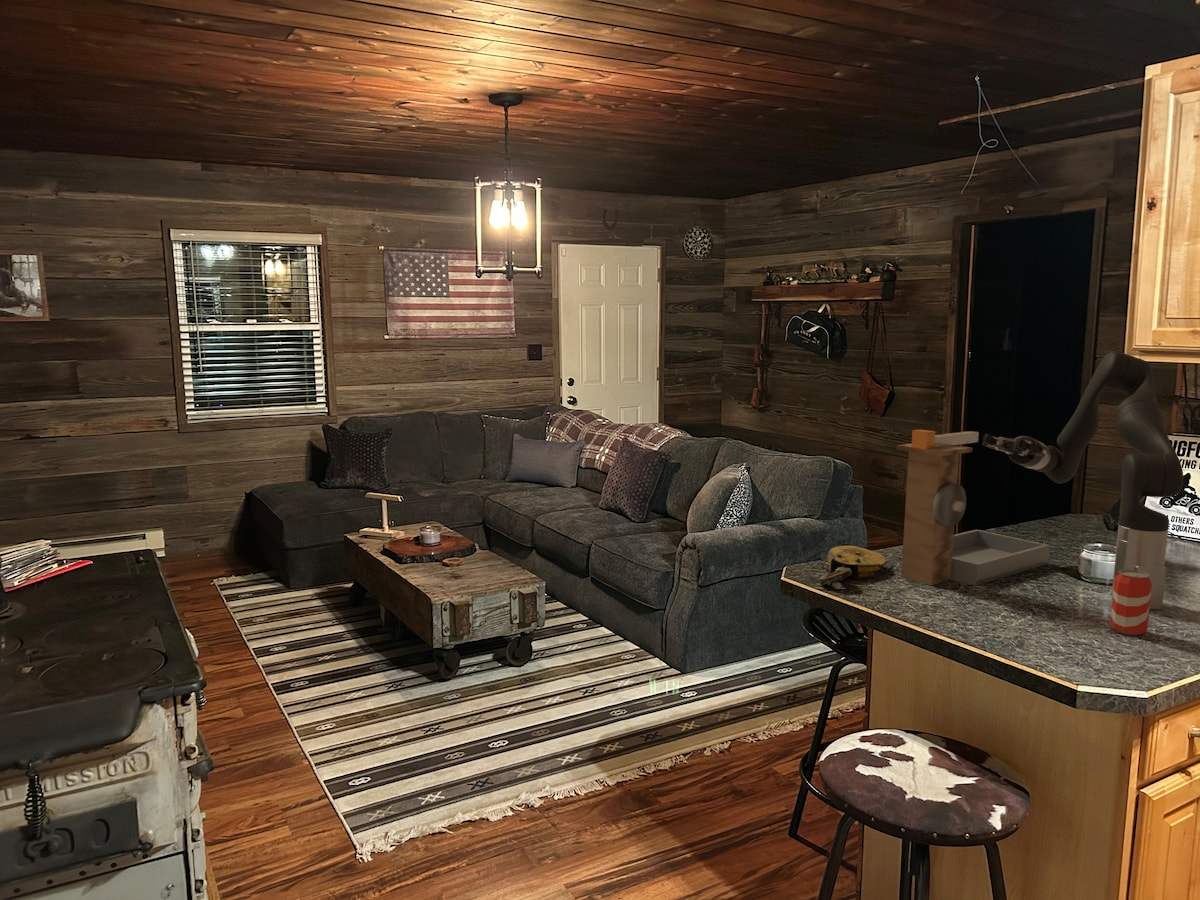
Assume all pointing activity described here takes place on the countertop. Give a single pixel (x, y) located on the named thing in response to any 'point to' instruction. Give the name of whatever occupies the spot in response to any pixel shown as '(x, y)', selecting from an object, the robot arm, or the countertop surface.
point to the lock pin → (941, 439)
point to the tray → (993, 556)
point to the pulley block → (852, 564)
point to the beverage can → (1131, 602)
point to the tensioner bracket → (931, 512)
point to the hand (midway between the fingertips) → (1001, 440)
